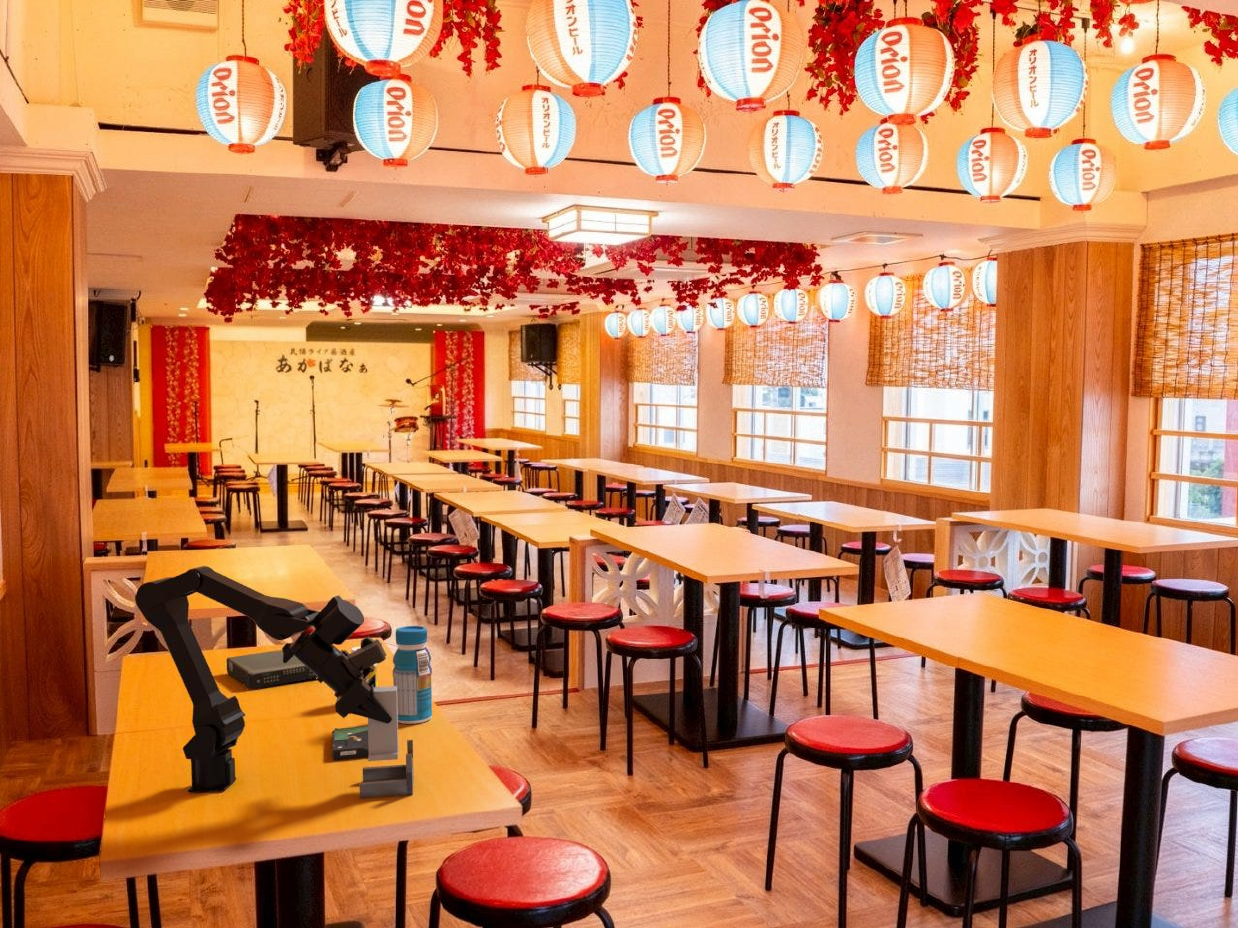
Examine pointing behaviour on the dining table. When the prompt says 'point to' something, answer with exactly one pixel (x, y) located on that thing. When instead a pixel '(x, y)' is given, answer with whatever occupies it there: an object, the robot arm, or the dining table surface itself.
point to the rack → (389, 778)
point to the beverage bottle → (412, 675)
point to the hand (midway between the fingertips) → (390, 718)
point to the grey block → (384, 727)
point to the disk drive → (350, 743)
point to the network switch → (267, 669)
